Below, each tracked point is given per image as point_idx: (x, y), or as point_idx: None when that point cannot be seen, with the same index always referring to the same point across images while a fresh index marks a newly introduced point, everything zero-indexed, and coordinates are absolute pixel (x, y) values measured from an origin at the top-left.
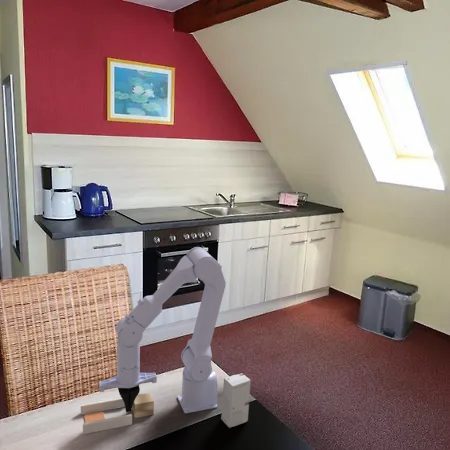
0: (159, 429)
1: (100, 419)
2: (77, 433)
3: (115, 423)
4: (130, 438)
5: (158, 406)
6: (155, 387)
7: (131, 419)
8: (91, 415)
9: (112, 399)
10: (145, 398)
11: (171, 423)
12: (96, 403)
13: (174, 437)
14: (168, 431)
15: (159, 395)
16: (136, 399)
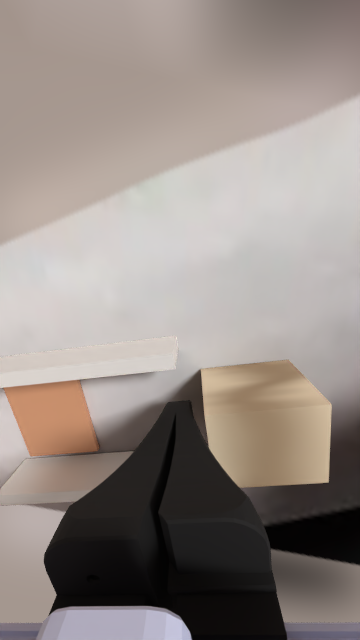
0: (292, 494)
1: (72, 418)
2: (9, 460)
3: None
4: None
5: (324, 372)
6: (354, 198)
7: None
8: (30, 390)
9: (94, 366)
10: (283, 452)
11: (346, 476)
12: (16, 384)
13: (334, 533)
14: (322, 507)
15: (354, 286)
16: (227, 453)
